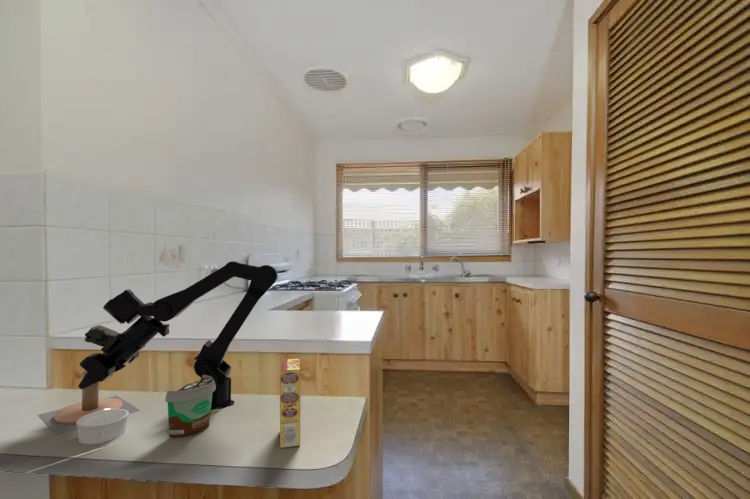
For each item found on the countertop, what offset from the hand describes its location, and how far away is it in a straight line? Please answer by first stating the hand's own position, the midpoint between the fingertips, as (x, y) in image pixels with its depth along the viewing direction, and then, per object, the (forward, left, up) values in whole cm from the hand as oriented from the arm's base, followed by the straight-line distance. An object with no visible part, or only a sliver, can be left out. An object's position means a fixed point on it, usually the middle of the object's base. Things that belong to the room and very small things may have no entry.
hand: (83, 385), depth 89 cm
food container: (-13, +29, -7) cm, 33 cm away
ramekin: (+1, +17, -7) cm, 18 cm away
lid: (-1, +1, -7) cm, 7 cm away
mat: (-1, +1, -7) cm, 7 cm away
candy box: (-23, +48, -7) cm, 54 cm away
